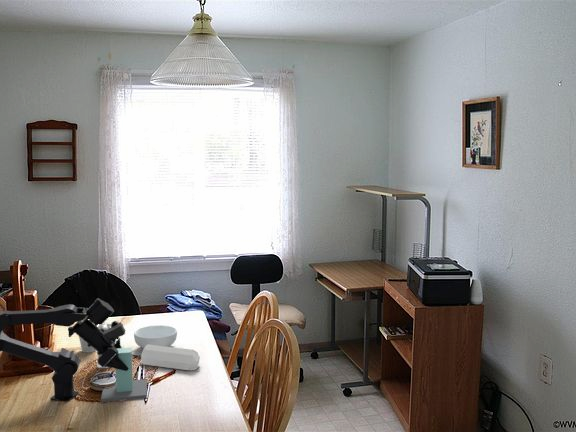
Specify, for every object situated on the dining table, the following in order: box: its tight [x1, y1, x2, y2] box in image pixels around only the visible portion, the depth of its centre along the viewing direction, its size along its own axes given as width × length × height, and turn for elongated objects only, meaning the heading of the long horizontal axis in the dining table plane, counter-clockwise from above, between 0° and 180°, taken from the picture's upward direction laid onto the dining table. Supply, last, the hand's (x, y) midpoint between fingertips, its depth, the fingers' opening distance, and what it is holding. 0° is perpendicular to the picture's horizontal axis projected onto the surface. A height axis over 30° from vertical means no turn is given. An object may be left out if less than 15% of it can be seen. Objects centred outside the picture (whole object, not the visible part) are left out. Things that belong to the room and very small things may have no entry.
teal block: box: [115, 347, 134, 392], centre depth 195 cm, size 5×5×13 cm
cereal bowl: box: [133, 324, 178, 349], centre depth 239 cm, size 17×17×7 cm
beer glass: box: [96, 323, 111, 369], centre depth 219 cm, size 7×7×15 cm
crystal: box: [140, 344, 201, 371], centre depth 219 cm, size 7×7×24 cm
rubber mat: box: [100, 378, 148, 403], centre depth 195 cm, size 14×14×1 cm
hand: (128, 364), depth 195 cm, fingers open, 9 cm apart
